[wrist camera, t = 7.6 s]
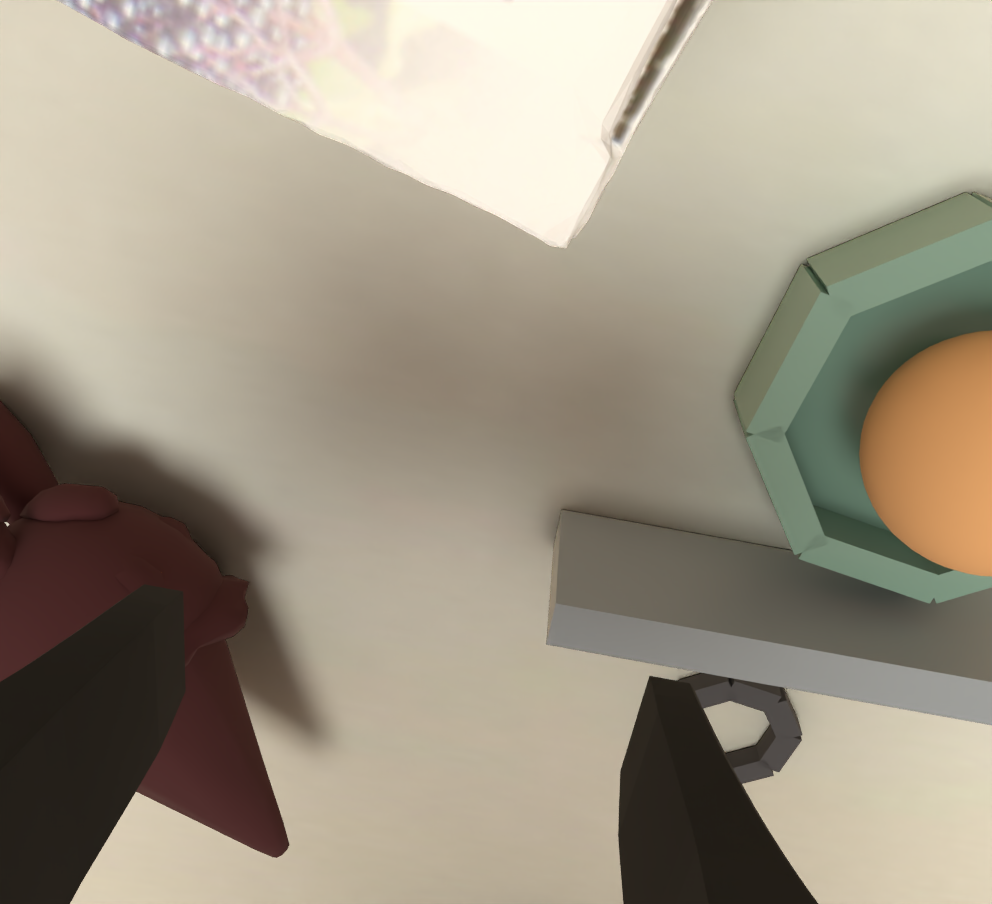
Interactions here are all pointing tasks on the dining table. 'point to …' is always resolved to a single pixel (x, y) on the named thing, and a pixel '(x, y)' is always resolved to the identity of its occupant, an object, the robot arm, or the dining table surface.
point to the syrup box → (442, 84)
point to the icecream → (104, 582)
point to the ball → (936, 453)
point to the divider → (765, 618)
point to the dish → (861, 382)
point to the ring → (761, 697)
